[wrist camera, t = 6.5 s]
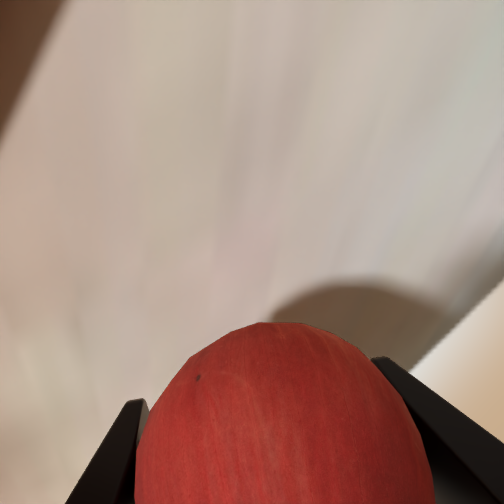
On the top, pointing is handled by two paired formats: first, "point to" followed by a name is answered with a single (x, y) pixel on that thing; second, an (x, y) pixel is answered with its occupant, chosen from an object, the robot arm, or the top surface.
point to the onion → (281, 427)
